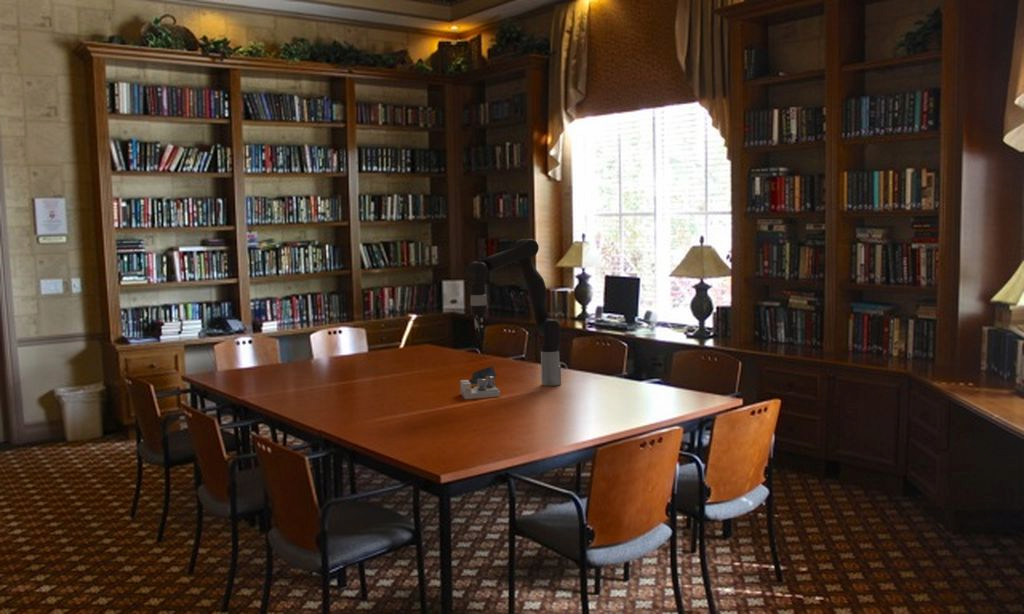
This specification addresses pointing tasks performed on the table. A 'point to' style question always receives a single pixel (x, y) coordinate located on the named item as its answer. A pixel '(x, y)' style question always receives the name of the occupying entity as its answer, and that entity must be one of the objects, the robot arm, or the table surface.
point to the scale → (474, 393)
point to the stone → (482, 374)
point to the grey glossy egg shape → (490, 381)
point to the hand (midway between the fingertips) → (480, 338)
